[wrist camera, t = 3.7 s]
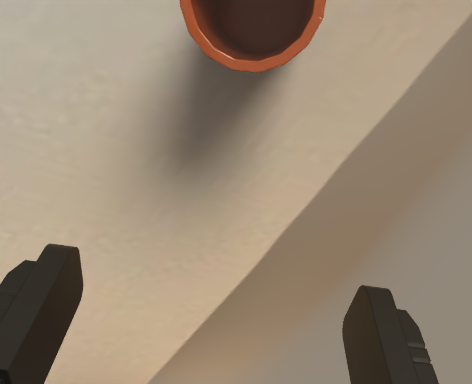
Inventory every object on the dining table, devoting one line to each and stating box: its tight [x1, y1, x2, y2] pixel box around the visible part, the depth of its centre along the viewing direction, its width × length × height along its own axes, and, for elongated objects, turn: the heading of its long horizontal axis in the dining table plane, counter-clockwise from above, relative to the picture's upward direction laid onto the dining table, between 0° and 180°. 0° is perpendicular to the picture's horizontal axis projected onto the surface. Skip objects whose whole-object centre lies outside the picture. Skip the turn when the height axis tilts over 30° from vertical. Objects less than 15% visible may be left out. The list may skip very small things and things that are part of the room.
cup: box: [180, 0, 326, 73], centre depth 22 cm, size 6×6×10 cm
